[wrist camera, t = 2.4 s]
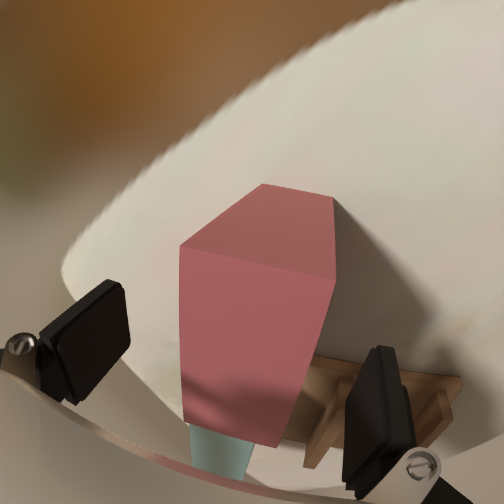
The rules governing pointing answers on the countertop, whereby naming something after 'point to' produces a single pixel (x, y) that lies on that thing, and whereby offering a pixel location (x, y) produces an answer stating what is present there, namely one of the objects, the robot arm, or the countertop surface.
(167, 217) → the countertop surface
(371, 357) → the robot arm
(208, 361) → the dusty red block
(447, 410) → the rack
